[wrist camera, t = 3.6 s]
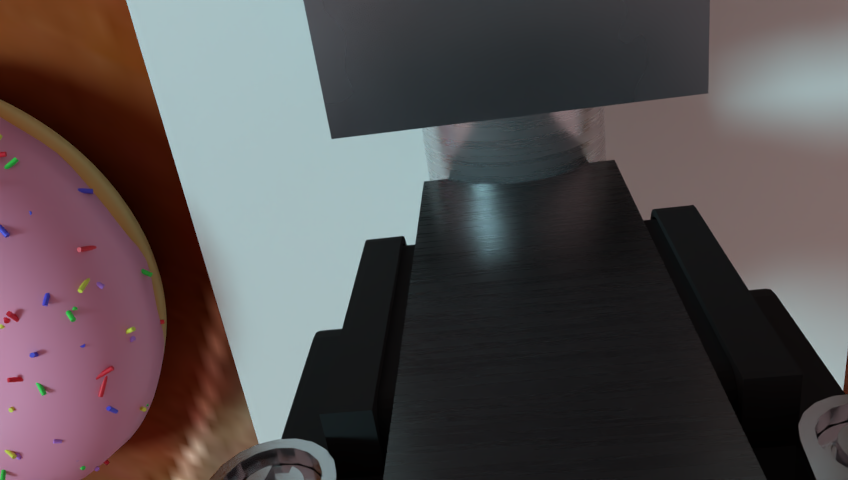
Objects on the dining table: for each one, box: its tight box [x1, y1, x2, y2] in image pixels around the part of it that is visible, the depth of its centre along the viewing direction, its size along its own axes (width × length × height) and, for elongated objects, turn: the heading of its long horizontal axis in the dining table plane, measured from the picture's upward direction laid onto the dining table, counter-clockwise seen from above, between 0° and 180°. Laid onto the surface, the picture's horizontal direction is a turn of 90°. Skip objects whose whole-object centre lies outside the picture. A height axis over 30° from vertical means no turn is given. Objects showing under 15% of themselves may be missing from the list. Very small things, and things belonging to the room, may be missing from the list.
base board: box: [126, 0, 848, 444], centre depth 16 cm, size 30×14×1 cm, turn 8°
